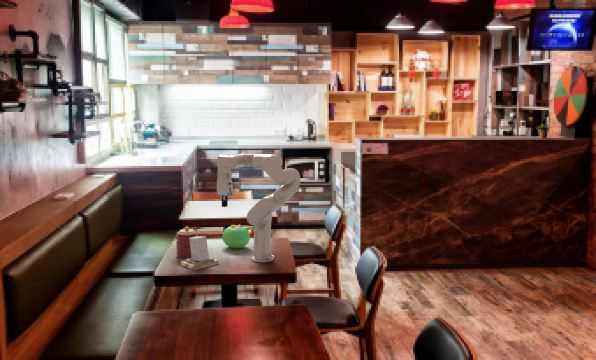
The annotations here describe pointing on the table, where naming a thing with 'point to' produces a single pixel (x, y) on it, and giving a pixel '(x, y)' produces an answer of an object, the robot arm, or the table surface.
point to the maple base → (198, 263)
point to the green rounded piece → (236, 236)
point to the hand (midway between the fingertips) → (224, 206)
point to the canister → (184, 242)
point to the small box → (199, 248)
